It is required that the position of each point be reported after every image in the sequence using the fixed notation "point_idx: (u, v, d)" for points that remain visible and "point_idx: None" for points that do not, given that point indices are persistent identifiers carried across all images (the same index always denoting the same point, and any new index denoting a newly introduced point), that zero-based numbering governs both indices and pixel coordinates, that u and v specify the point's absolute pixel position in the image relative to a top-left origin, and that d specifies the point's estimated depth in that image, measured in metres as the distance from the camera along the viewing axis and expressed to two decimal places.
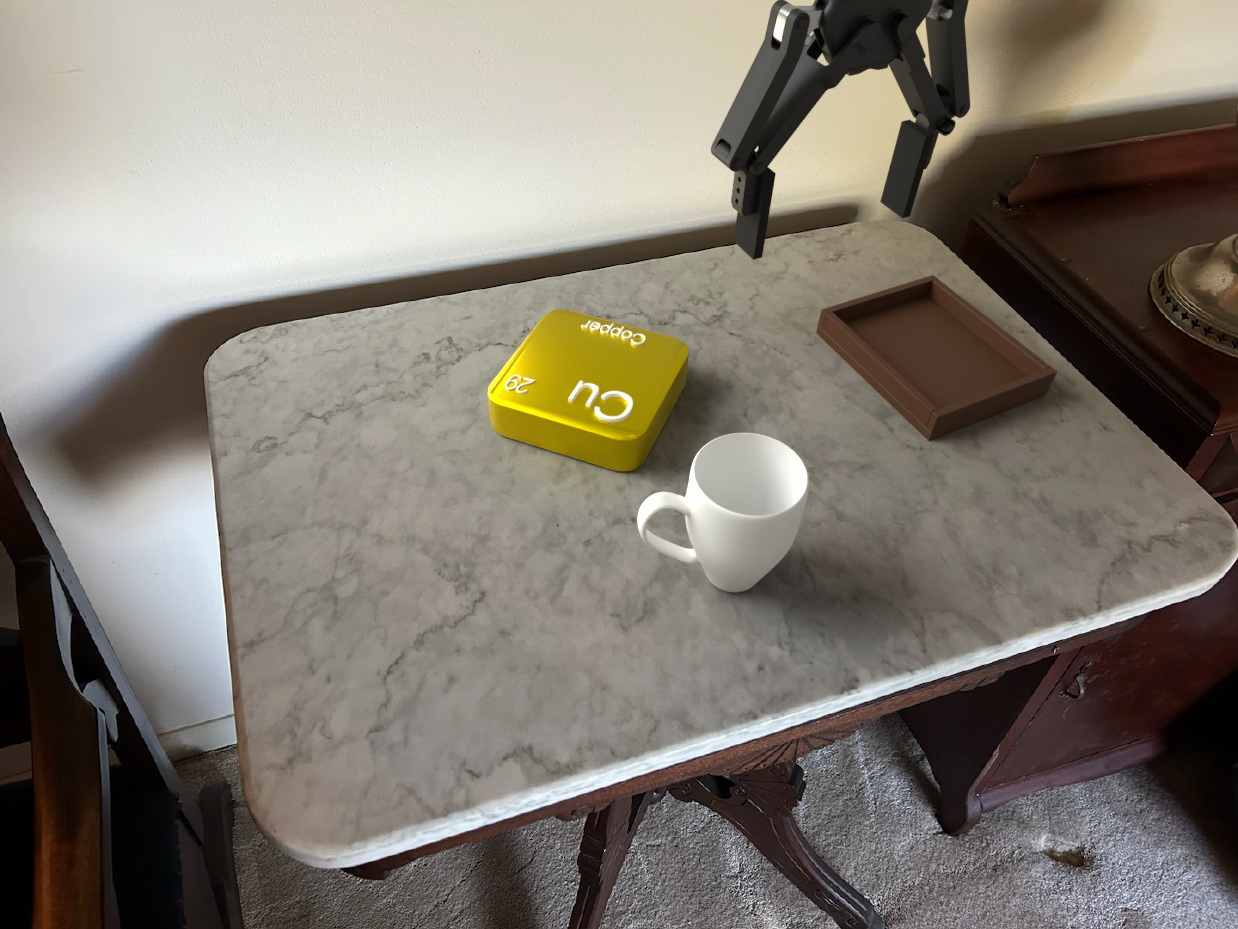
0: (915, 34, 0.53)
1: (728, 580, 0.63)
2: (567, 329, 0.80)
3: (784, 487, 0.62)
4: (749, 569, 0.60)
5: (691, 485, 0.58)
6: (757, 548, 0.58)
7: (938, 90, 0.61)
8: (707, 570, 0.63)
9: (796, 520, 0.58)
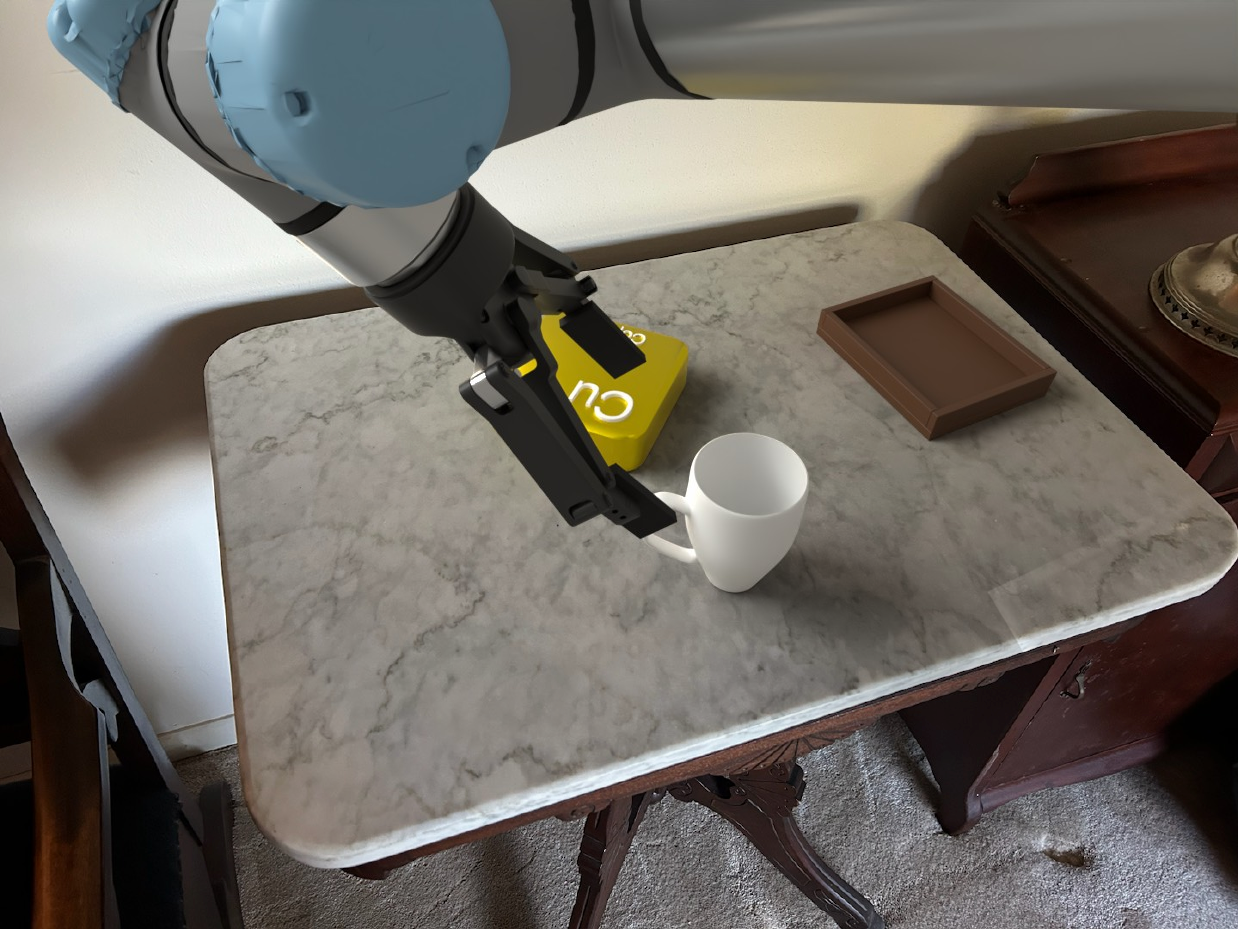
0: (526, 270, 0.47)
1: (728, 580, 0.63)
2: None
3: (784, 487, 0.62)
4: (749, 569, 0.60)
5: (691, 485, 0.58)
6: (757, 548, 0.58)
7: None
8: (707, 570, 0.63)
9: (796, 520, 0.58)
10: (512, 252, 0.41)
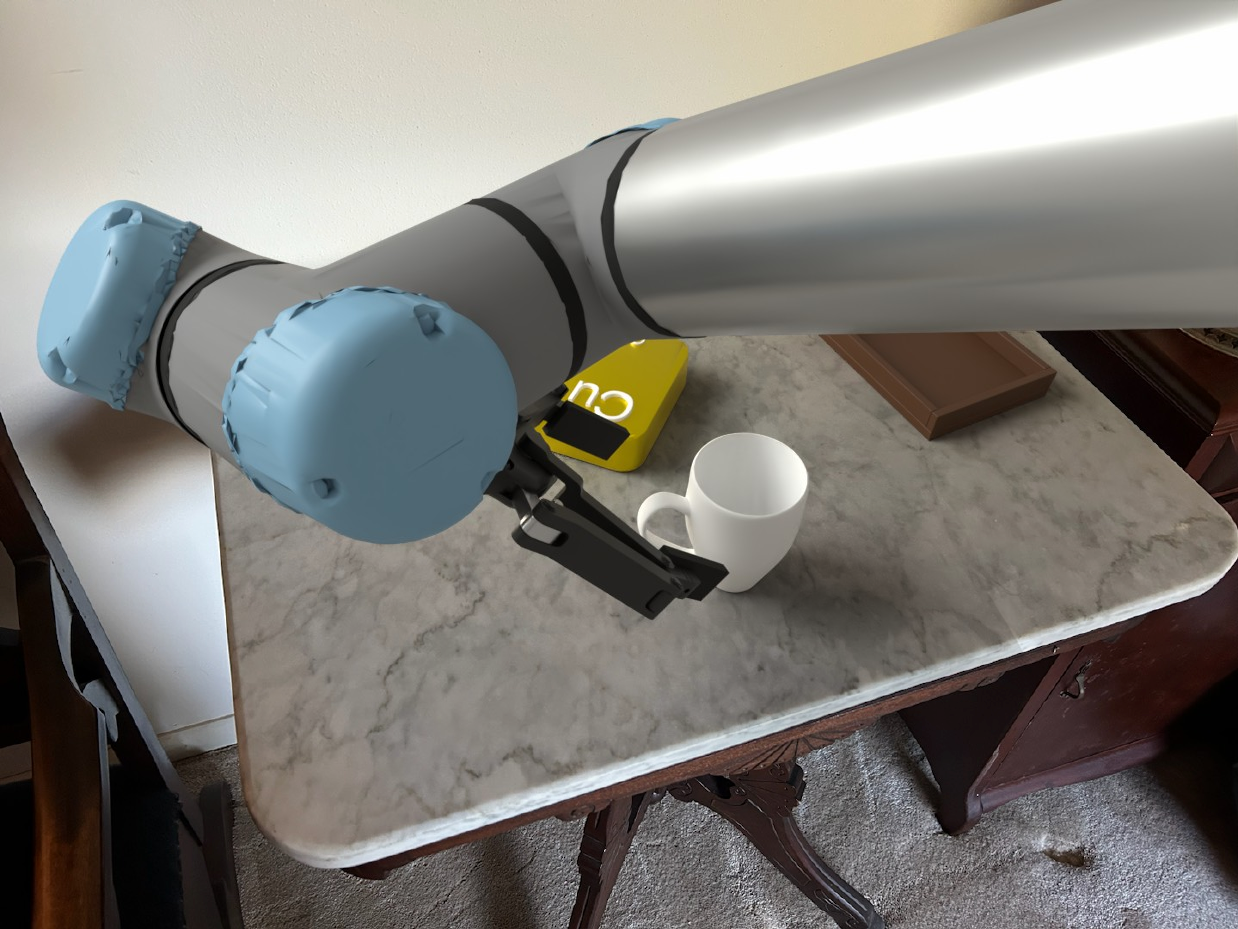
0: None
1: (728, 580, 0.63)
2: None
3: (784, 487, 0.62)
4: (749, 569, 0.60)
5: (691, 485, 0.58)
6: (757, 548, 0.58)
7: None
8: None
9: (796, 520, 0.58)
10: None
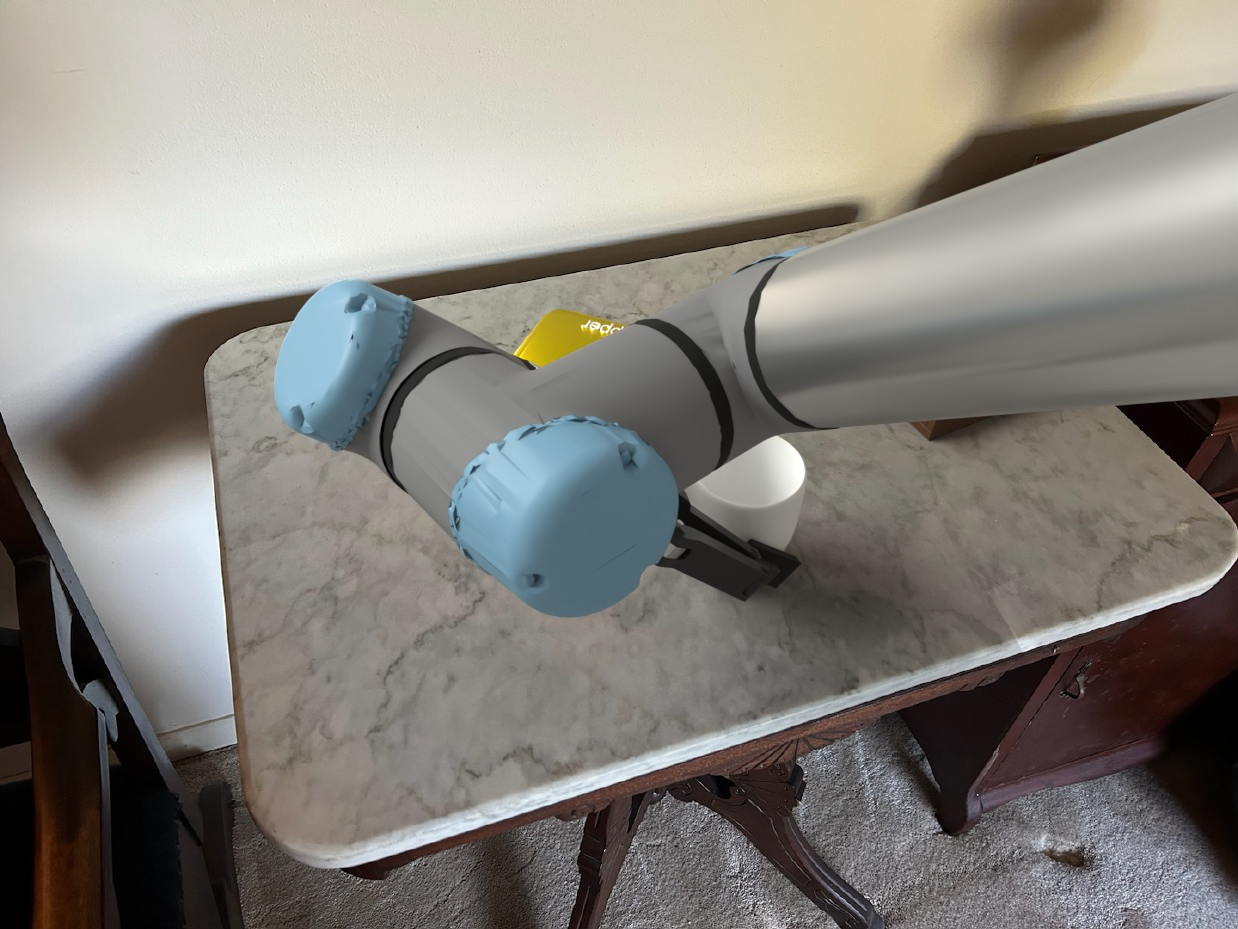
0: None
1: None
2: (567, 329, 0.80)
3: (782, 482, 0.63)
4: None
5: None
6: (756, 539, 0.58)
7: None
8: None
9: (794, 512, 0.58)
10: None
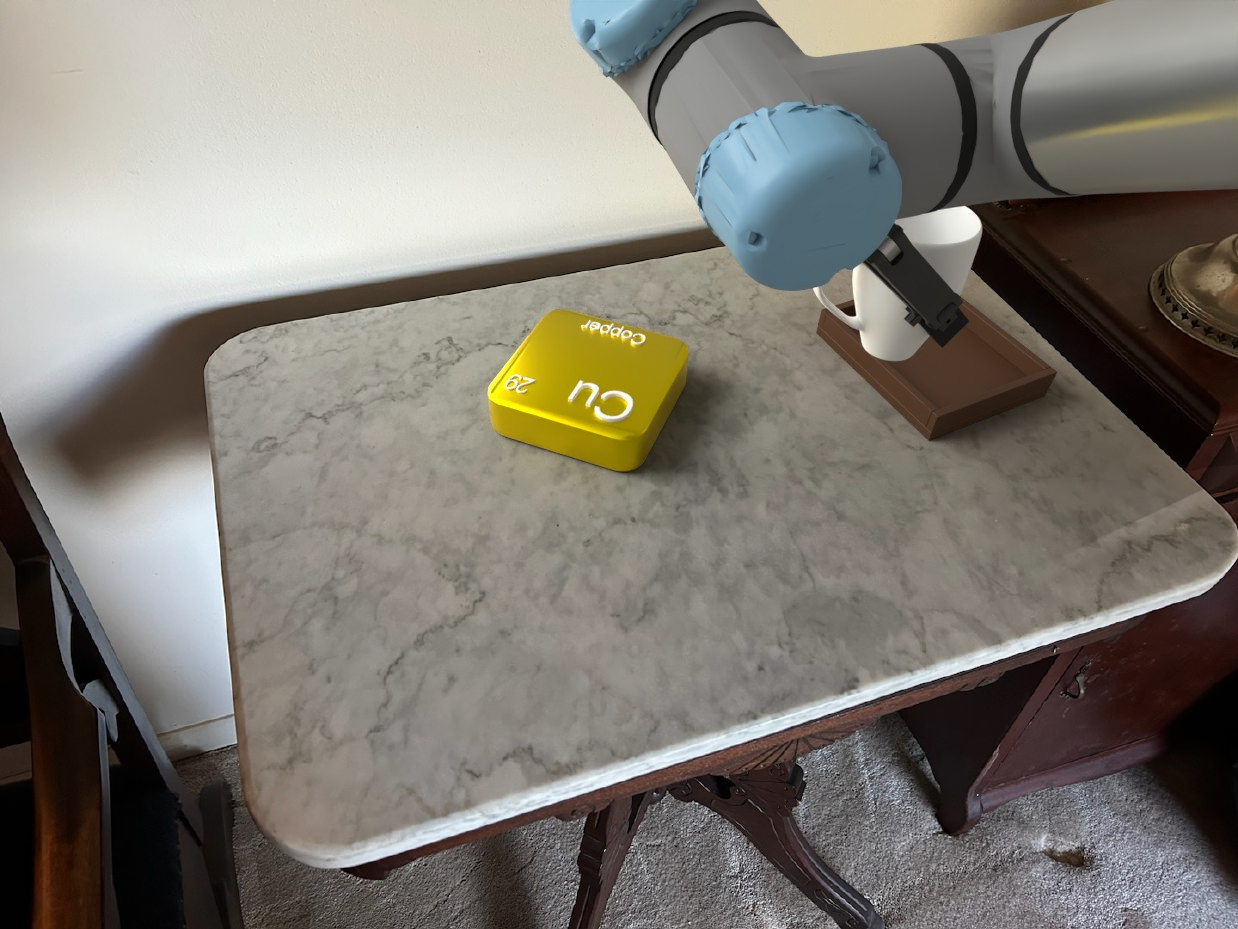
0: None
1: (895, 338, 0.65)
2: (567, 329, 0.80)
3: None
4: None
5: None
6: None
7: None
8: (872, 332, 0.66)
9: (971, 259, 0.61)
10: None
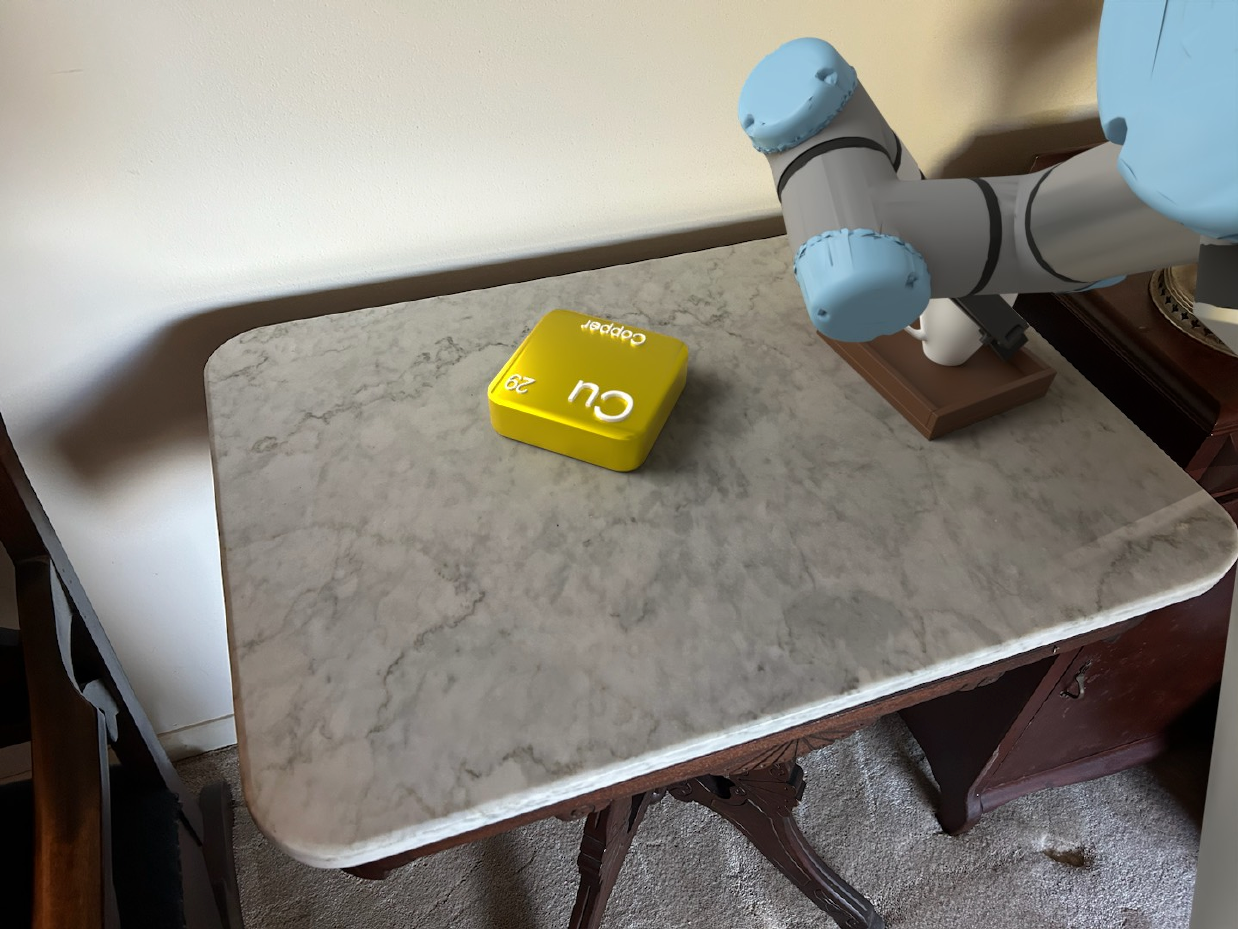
0: None
1: (953, 349, 0.80)
2: (567, 329, 0.80)
3: None
4: (977, 332, 0.78)
5: None
6: None
7: None
8: (934, 343, 0.81)
9: None
10: None
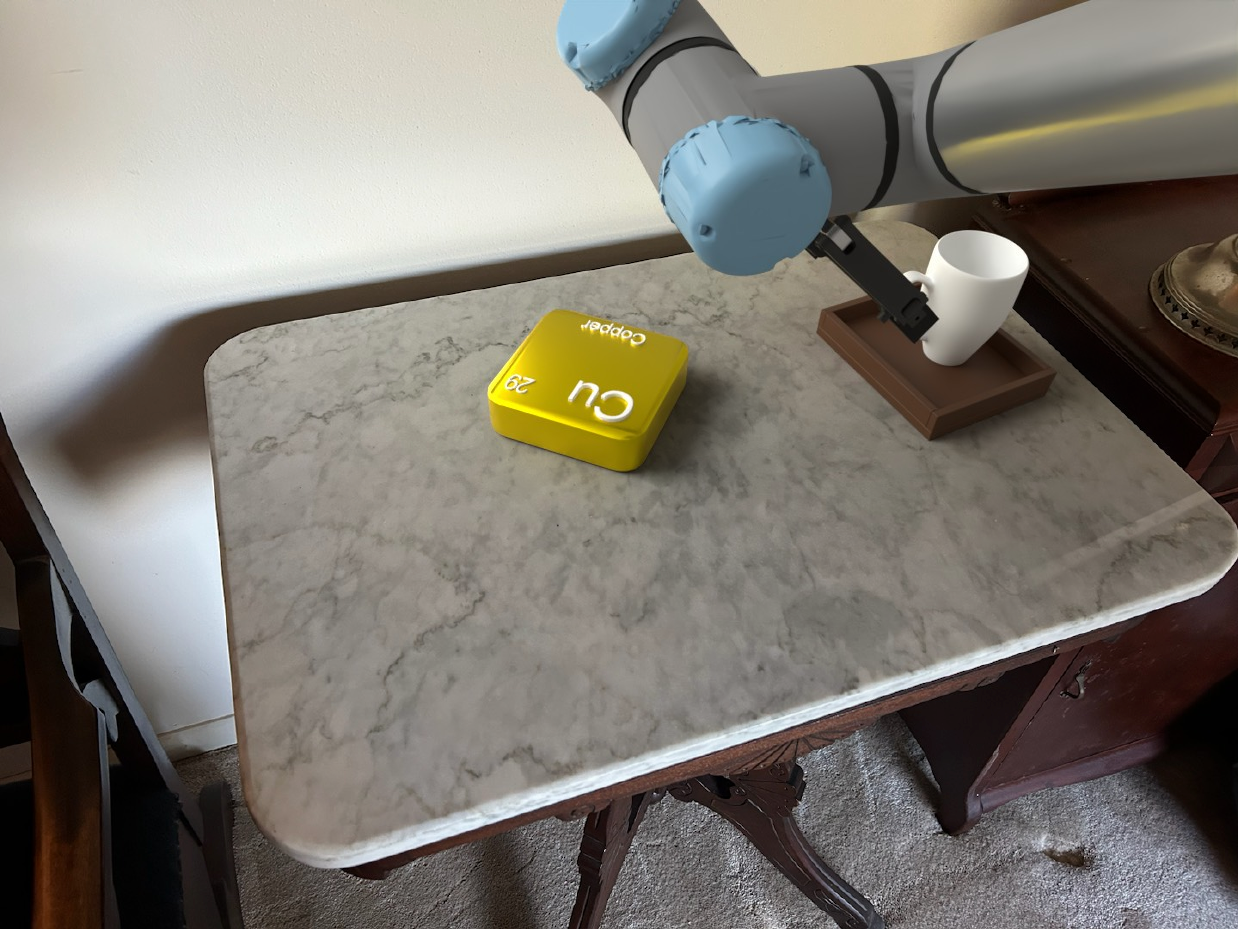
0: None
1: (953, 349, 0.80)
2: (567, 329, 0.80)
3: (997, 275, 0.80)
4: (977, 332, 0.78)
5: (937, 263, 0.76)
6: (989, 310, 0.76)
7: None
8: (934, 343, 0.81)
9: (1019, 288, 0.76)
10: None
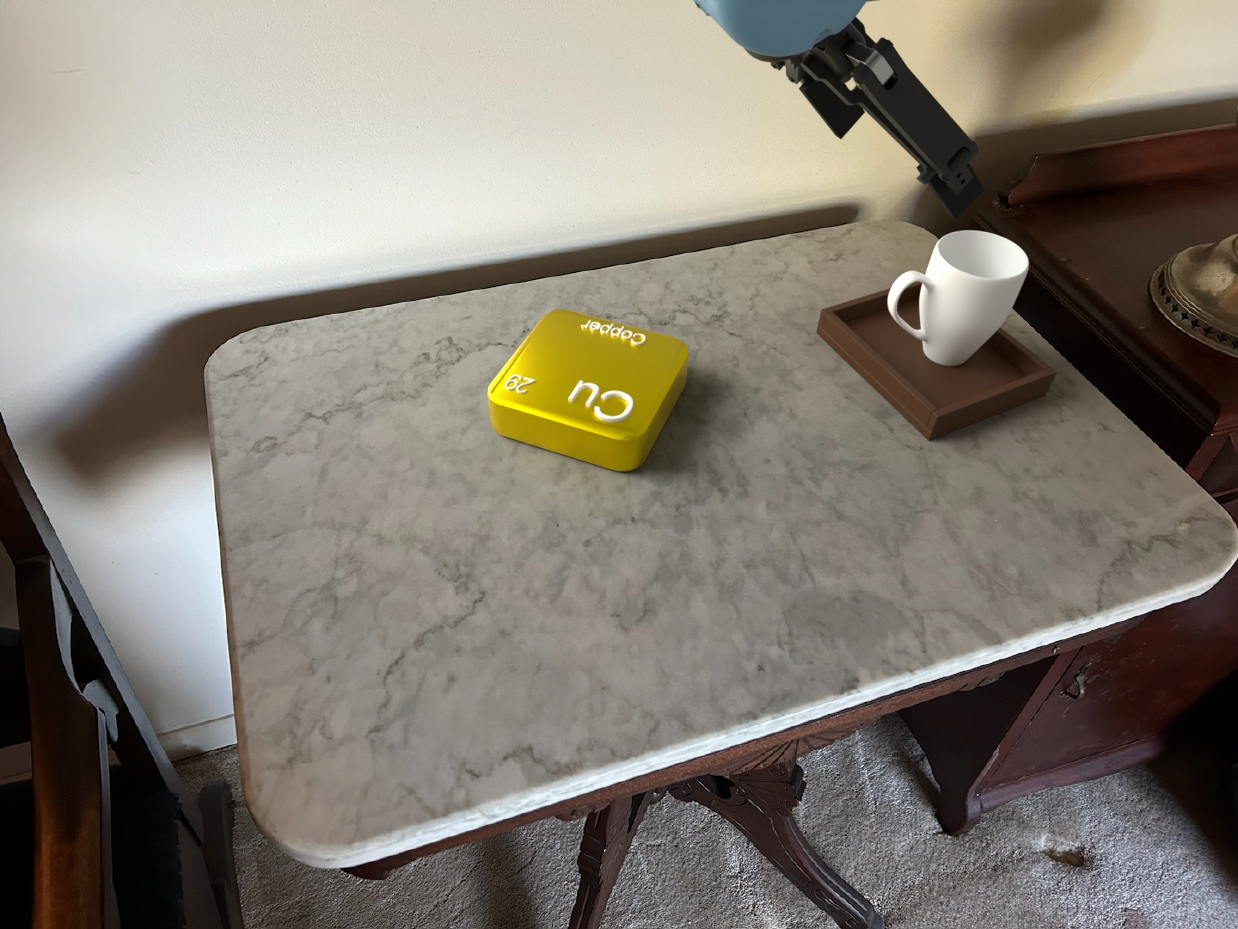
0: None
1: (953, 349, 0.80)
2: (567, 329, 0.80)
3: (997, 275, 0.80)
4: (977, 332, 0.78)
5: (937, 263, 0.76)
6: (989, 310, 0.76)
7: None
8: (934, 343, 0.81)
9: (1019, 288, 0.76)
10: None
